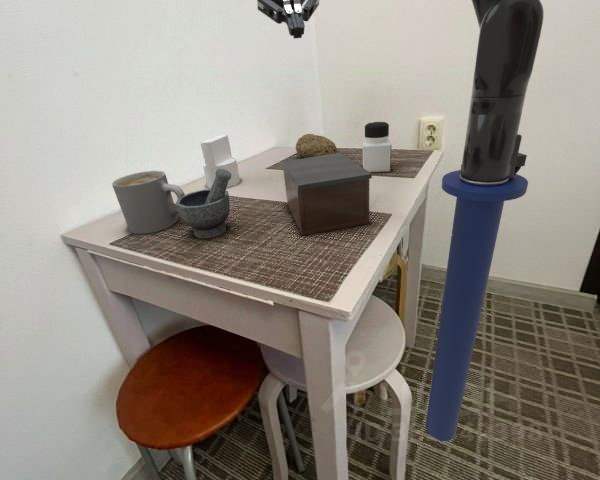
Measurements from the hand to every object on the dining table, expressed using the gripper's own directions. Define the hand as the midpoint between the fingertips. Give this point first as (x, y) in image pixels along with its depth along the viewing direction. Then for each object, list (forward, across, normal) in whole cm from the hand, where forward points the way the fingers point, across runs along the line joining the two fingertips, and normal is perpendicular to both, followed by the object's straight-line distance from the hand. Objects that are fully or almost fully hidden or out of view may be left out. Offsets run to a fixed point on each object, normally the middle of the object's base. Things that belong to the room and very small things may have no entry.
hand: (298, 34), depth 61 cm
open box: (+30, 0, +15) cm, 34 cm away
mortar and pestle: (+30, -22, +15) cm, 40 cm away
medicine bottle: (+14, +21, +32) cm, 40 cm away
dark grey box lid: (+24, 0, +8) cm, 26 cm away
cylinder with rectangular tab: (+8, -20, +37) cm, 43 cm away
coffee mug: (+24, -34, +21) cm, 46 cm away
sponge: (-2, +10, +47) cm, 48 cm away
